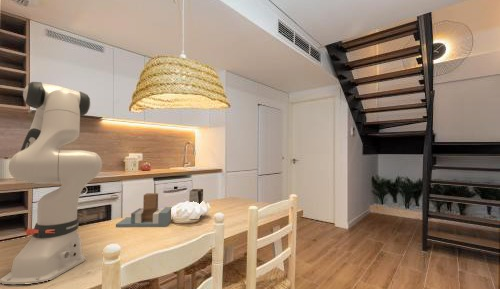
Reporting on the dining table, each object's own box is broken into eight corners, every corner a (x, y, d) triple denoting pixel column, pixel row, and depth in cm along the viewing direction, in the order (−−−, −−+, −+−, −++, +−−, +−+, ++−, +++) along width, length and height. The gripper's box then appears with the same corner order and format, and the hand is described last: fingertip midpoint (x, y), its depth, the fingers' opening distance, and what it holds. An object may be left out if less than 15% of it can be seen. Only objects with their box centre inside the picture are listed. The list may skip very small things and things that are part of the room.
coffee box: (199, 219, 140) (200, 191, 141) (188, 219, 141) (189, 191, 141) (203, 215, 150) (203, 188, 150) (192, 215, 150) (193, 188, 150)
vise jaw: (141, 223, 127) (141, 213, 127) (130, 223, 127) (131, 213, 127) (148, 217, 138) (148, 208, 138) (139, 217, 137) (139, 208, 138)
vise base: (166, 226, 127) (166, 213, 127) (115, 227, 125) (116, 213, 125) (172, 219, 140) (172, 207, 140) (126, 219, 138) (127, 207, 138)
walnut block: (154, 221, 130) (155, 195, 130) (143, 221, 130) (143, 195, 130) (157, 219, 135) (158, 193, 135) (146, 219, 135) (146, 193, 135)
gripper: (47, 170, 115) (78, 170, 116) (75, 167, 135) (101, 167, 136) (46, 184, 115) (78, 184, 116) (74, 178, 135) (101, 179, 136)
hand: (90, 175), depth 126 cm, fingers closed
